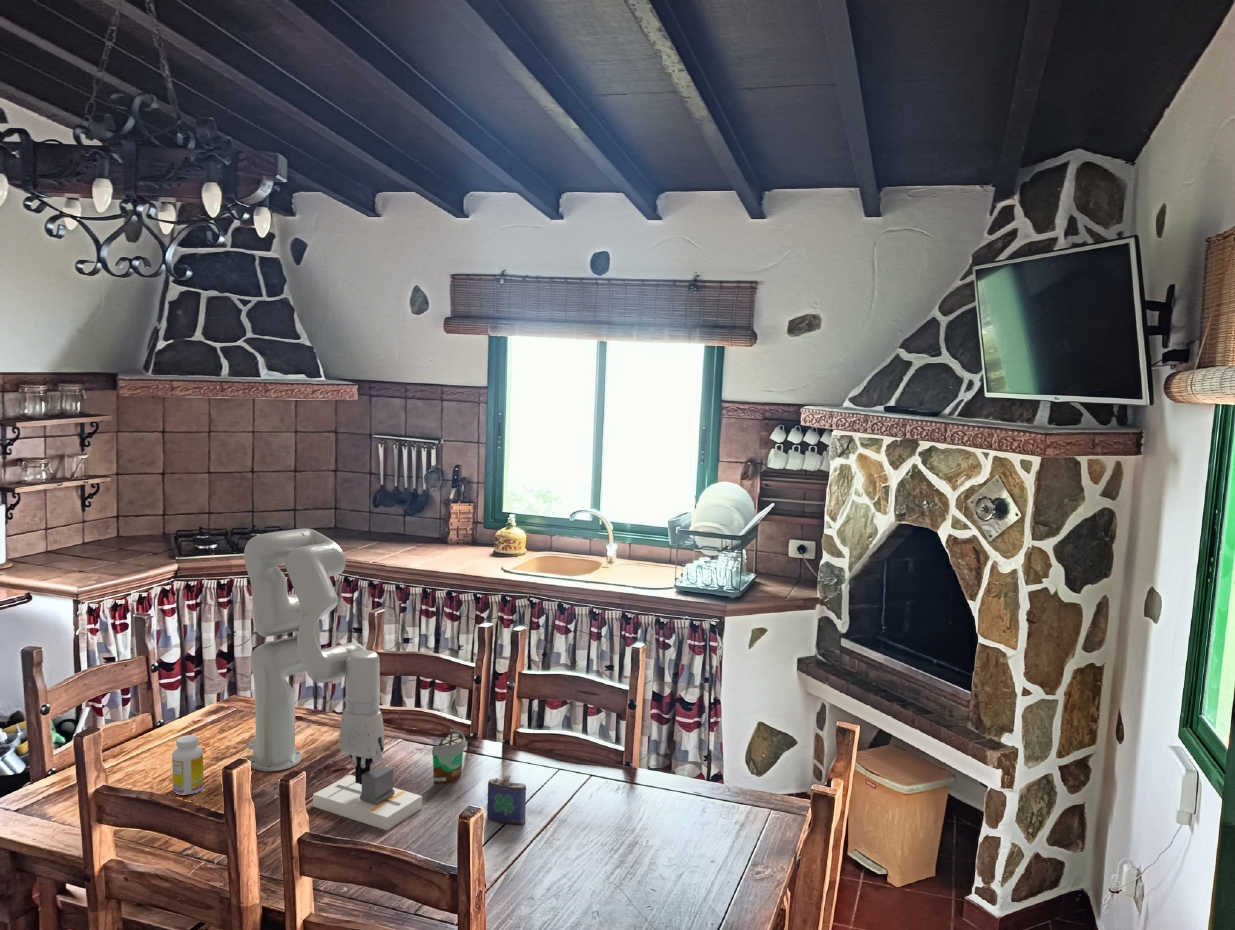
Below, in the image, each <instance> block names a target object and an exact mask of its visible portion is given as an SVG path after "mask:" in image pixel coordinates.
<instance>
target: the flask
mask: <svg viewBox="0 0 1235 930" xmlns="http://www.w3.org/2000/svg"><path fill="white" fill-rule="evenodd" d="M510 779H511V775H510V774H507V775H504V776H503V777H502V779H500V778H498V777H495V778H491V779H489V780H488V782H487V803H486V804H487V805H486V817H487V818H486V820H488V821H490V822H494V823H498V824H506V825H512V826H513V825H514V826H523V825H525V823H526V808H527V807H526V804H527V803H526V799H527V797H526V795H527V793H526V792H527V785H526V784H525V783H521V782H510Z"/></svg>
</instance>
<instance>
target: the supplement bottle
mask: <svg viewBox="0 0 1235 930" xmlns="http://www.w3.org/2000/svg"><path fill="white" fill-rule="evenodd" d="M175 743H176V744H175V745H176V747H177V748H176V749H174V751H173V752H172V755H171V757H172V760H171V761H172V763H171V764H172V767H171V768H172V789H173V793H174V792H176V793H178V794H193V793H196V794H198V793H200V792H201V791H203V789H204V786H205V784H204V781H205V780H204V778H205V777H204V750H203V748H202V747H201V746H200V745H198V743H199V737H198V736H197V735H193V734H191V735H190V734H189V735H183V736H180V737H178V738H176V741H175ZM199 791H200V792H199ZM197 792H198V793H197ZM193 795H194V794H193Z"/></svg>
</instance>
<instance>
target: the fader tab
mask: <svg viewBox="0 0 1235 930" xmlns="http://www.w3.org/2000/svg"><path fill="white" fill-rule="evenodd" d="M393 788H394V769H393V768H391V767H387V766H384V765H380V764H379V765H377V766H375V767H374V768H371V769H370V771H368V772H366V773H364V774H362V794H361V795H360V800H363V801H367V802H370V803H373V804H376V805H377V804H379V803H381V802H382V801H384V800H386V799H387V798H389V797H391V796H392V795H394V794H395V790H393Z"/></svg>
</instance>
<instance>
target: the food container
mask: <svg viewBox="0 0 1235 930" xmlns="http://www.w3.org/2000/svg"><path fill="white" fill-rule="evenodd" d="M466 747H467V741H466V738H465V735H464V733H463V732H461V731H460V730H457V729H452V728H449V733H448V734H447V735H446V736H445V737H443V738H441V739H440V742H439V743H438V744H437V745H435V746H434V745H433V746H432V749H431V755H432V767H433V768H432V770H433V773H432V775H433V784H434V785H446V784H451V783H453V782H456V781H458V780H459V779H461V777H462V770H463V769H462V768H463V766H462V765H463V757H464V750H465V748H466Z"/></svg>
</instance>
